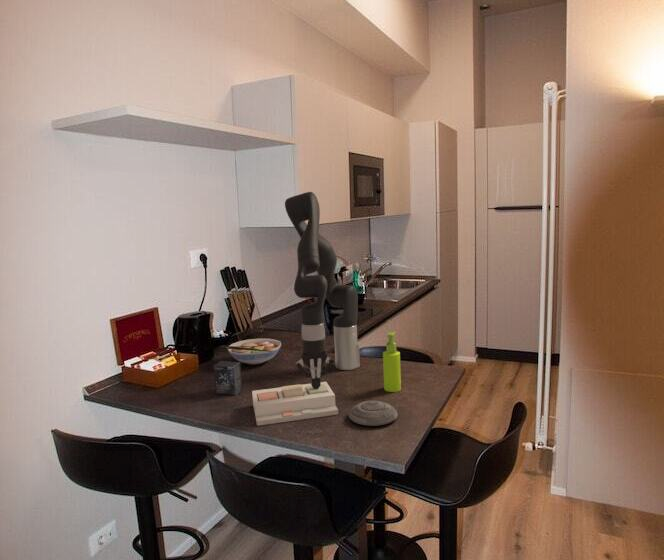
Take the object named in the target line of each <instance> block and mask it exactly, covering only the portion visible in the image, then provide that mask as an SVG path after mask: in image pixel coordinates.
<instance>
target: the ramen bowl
mask: <svg viewBox="0 0 664 560" xmlns="http://www.w3.org/2000/svg"><path fill="white" fill-rule="evenodd" d="M281 347H282V342H281V341H279V340H277V339H274V338H273V339H272V338H251V339H245V340H239V341H236V342H234V343H231V344H230V345H225V344H222V345H221V346H220V345H219V346H218V348H219V349H225V350H227V351H228V353H229V354H230V355H231V356H232V357H233V359H234V360H236V361H237V362H240V363H244V364H247V365H251V366H257V365H261V364H263V363H266V361H270V360H271V359H273V358H274V357H275V356H276V355H277V354H278V352H279V350H280V349H281Z"/></svg>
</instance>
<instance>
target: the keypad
mask: <svg viewBox="0 0 664 560" xmlns="http://www.w3.org/2000/svg"><path fill="white" fill-rule="evenodd" d="M320 384H324V385H325V387H326V388H327V390H328V392H326V393H319V394H311V395H308V393H307V391H306V386H311V383H305V384H300V385H301V387H302V389H303V396H296V397H288V398H283V395H282V387H283V386H280V387H274V388H267V389H266V388H264V389H256V390H252V391H251V394H252V395H251V396H252V406H253V411H254V412H253V413H254V417H255V423H256V426H265V425H272V424H279V423H287V422H292V421H293V422H294V421H301V420H308V419H315V418H320V417H321V418H322V417H329V416H335V415H339V408H338V407H337V406H336V395H335V392H334V391H333V390H332V388H331V387H330V385H329V384H328V382H327V381H320ZM271 392H276V393H277V396H278V399H273V400H265V401H258V394H263V393H271Z"/></svg>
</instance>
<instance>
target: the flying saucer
mask: <svg viewBox="0 0 664 560" xmlns="http://www.w3.org/2000/svg"><path fill="white" fill-rule="evenodd" d="M347 416H348V419H349V420H350V421H352V422H353V423H355V424H358V425H362V426H369V427H373V426H376V427H377V426H383V425H388V424H390V423H392V422H393V421H395V420H396V419H397V418H398V416H399V415H398V412H397V410H396V408H395V407H394V406H392V405H391V404H389V403H387V402H384V401H382V400H366V401H365V400H364V401H362V402H359V403H357V404H355V405H353V407H352V408H351V409H350V410H349V412H348V415H347Z"/></svg>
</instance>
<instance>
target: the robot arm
mask: <svg viewBox="0 0 664 560" xmlns="http://www.w3.org/2000/svg"><path fill="white" fill-rule="evenodd" d="M284 207H285V211H286V214H287V217H288V218H289V220H290V222H291V224H292V225H293V227H294V229H295V230H296V232H297V234H298V236H299V237H300V239H299V242H298V244H297V249H296V251H297V253H296V254H297V256H296V257H297V271H296V272H297V274H296V277H295V280H294V286H293V290H294V293H295V295H296V296H297V297H298V298H300V299H307V298H315V300H314V302H311V303H308V304H304V305H302V307H301V310H300V311H301V312H300V316H301V344H302V346H301V347H302V348H301V350H302V354H301V358H300V359H299V360H298V361H296V362H295V366H296V367H297V368H298V370H299V371H300V372H302V374H303V375H304V376H305V377H306V378H310V382H311V383H310V384H311V385H312V387H313V388H314V389H319V387H320V386H321V384H320V382H321V377H322V376H326V375H327V373H328V371H329V370H330V369H331V367H332V366H333V365H334V363H335V368H336V369H338V370H342V371H343V370H344V371H349V370H351V371H352V370H355V369H357V368H360V367H361V365H360V364H361V361H360V358H361V357H360V345H359V343H358V325H357V323H358V322H357V321H358V315H359V314H358V313H359V311H358V310H359V309H358V306H359V303H358V302H359V296H358V290H357V288H356V287H355V286H354V285H351V284H350V285H348V284H340V283H338V281H337V279H336V278H335V277H336V276H335V271H336V269H337V267H336V266H337V263H338V259H337V255H336V252H335V249H334V248H333V245H332V243H331V242H330V241H329V240H328V239H327V238H326V237H324V236H323V235H321V234H319V230H320V215H321V212H320V211H321V210H320V203H319V201H318V197H317V196H316V194H315V193H314V192H312V191H307V192H304V193H303V192H302V193H301V194H297V195H293V196H291V197H288V198H287V199H285V201H284ZM306 221H307V222H306ZM313 273H317V274H315V275H313ZM310 274H311V275H310ZM325 299H327V301H328V303H329V305H330V306H331V307H333V308H336V309H343V314H341V315H339V316H335V317H334V318H333V321H332V322H333V338H334V339H333V341H334V357H335V358H332V357H330V356H329V355H328V353H327V350H326V330H325V324H324V304H325ZM324 363H325V364H324ZM304 365H306V366H307V367H308V368H309V371H308V370H307V368H305V367H304ZM322 366H323V367H322Z"/></svg>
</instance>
